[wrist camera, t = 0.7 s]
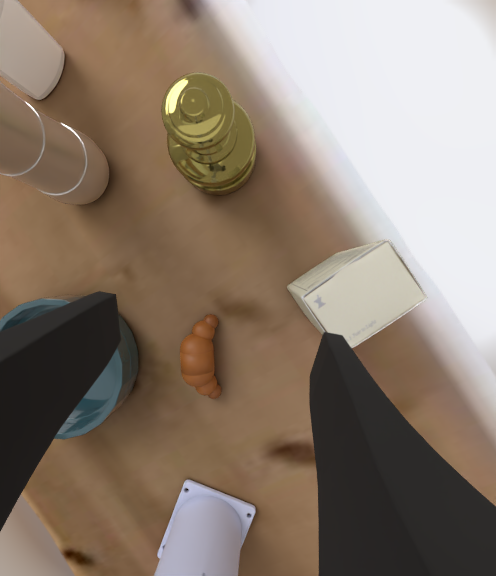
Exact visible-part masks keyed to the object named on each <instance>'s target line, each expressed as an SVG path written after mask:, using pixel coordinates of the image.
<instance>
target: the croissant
mask: <svg viewBox="0 0 496 576" xmlns="http://www.w3.org/2000/svg"><path fill="white" fill-rule="evenodd" d="M217 325H218V318H217V317H216V316H215V315H212V314H210V315H207V316H206V317H205V318H204V320H203V321H199V322H197V323H196V324H195V325H194V327H193V329H192V334H190V335H188V336H187V337H186V338H185V339H184V340H183V342H182V344H181V347H180V357H181V373H182V377H183V379H184V380H185V382H186V383H187V384H189V385H191V386H194V387H195V388H196V390H197V392H198V393H200V394H202V395H208V396H209V397H210V398H212V399H216V398H218V397H219V396H220V395H221V387H220V385H219V384H217V379H216V377H215V376H214V370H215V367H214V347H213V343H212V341H211V340H212V339H213V337H214V334H215V330H214V329H215V328H216V327H217Z"/></svg>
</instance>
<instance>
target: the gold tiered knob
mask: <svg viewBox="0 0 496 576" xmlns="http://www.w3.org/2000/svg"><path fill="white" fill-rule="evenodd" d="M162 119H163V123H164V126H165V128H166V130H167V132H168V133H167V146H168V151H169V155H170V158H171V160H172V162H173V164H174V165H175V167H176V168H177V170H178V171H179V172H180V173H181V174H182V175H183V176H184V177H185V178H186V179H187V180H188V181H189V182H190V183H191V184H192V185H194V186H195V187H196V188H197V189H199V190H201V191H202V192H205V193H208V194H212V195H224V194H229V193H231V192H234V191H236V190H237V189H239V188H240V187H242V186H243V185H244V184H245V183H246V182H247V180H248V179H249V178H250V176H251V174H252V172H253V169H254V166H255V161H256V142H255V132H254V127H253V124H252V122H251V119H250V117H249V115H248V114H247V112H246V111H245V110H244V108H243V107H242V106H241V105H240V104H239V103H237V102H236V101H235V100H233V99H232V97H231V95H230V93H229V91H228V89H227V88H226V86H225V85H224V84H223V83H222V82H221V81H220V80H219V79H217V78H216V77H214V76H212V75H210V74H207V73H201V72H195V73H189V74H186V75H183V76H181V77H180V78H178V79H177V80H175V81H174V82H173V83H172V84H171V85H170V87H169V88H168V90H167V91H166V93H165V96H164V98H163V102H162Z"/></svg>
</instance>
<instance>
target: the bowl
mask: <svg viewBox="0 0 496 576" xmlns="http://www.w3.org/2000/svg"><path fill="white" fill-rule="evenodd" d="M83 297H85V296H80V295H62V296H55V297H48V298H42V299H37V300H34V301H31V302H27V303H24V304H21V305H19V306H17V307H16V308H15V309H13V310H12V311H10V312H9V313H8V314H6V315H5V316H3V317H2V319H1V320H0V332H1V331H3V330H6V329H8V328H11V327H13V326H16V325H18V324H21V323H24V322H26V321H29V320H31V319H34V318H36V317H38V316H41V315H43V314H45V313H48V312H50V311H52V310H55V309H57V308H59V307H62V306H64V305H66V304H69V303H71V302H73V301H76V300H78V299H80V298H83ZM118 317H119V326H120V334H121V341H120V343H119V345H118V347H117V349H116V351H115V353H114V355H113V356H112V358H111V360H110V361H109V363H108V365H107V366H106V368H105V369H104V370H103V372H102V373H101V375H100V376H99V377H98V379H97V380H96V381H95V383H94V384H93V385H92V387H91V388H90V389H89V391H88V392H87V393H86V395H85V396H84V397H83V399H82V400H81V401H80V403H79V404H78V405H77V407H76V408H75V409H74V411H73V412H72V413H71V415H70V416H69V417H68V419H67V420H66V421H65V423H64V424H63V426H62V427H61V428H60V430H59V431H58V433H57V434H56V436H55V437H54V439H67V438H71V437H75V436H80V435H84V434H86V433H87V432H89V431H91V430H92V429H94V428H95V427H97V426H98V425H100V424H101V423H103V422H104V421H105V420H106V419H107V418H108V417H109V416H110V415H111V414H112V413H113V412H114V411H115V410H116V409H117V408H118V407H119V406H120V405H121V404H122V403H123V401H124V400H125V399H126V398H127V396H128V395H129V394H130V392H131V391H132V388H133V386H134V383H135V380H136V377H137V374H138V350H137V347H136V343H135V340H134V337H133V334H132V332H131V330H130V329H129V327H128V326H127V324H126V323H125V321H124V320H123V318H122V317H121V316H120V315H119V314H118Z"/></svg>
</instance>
